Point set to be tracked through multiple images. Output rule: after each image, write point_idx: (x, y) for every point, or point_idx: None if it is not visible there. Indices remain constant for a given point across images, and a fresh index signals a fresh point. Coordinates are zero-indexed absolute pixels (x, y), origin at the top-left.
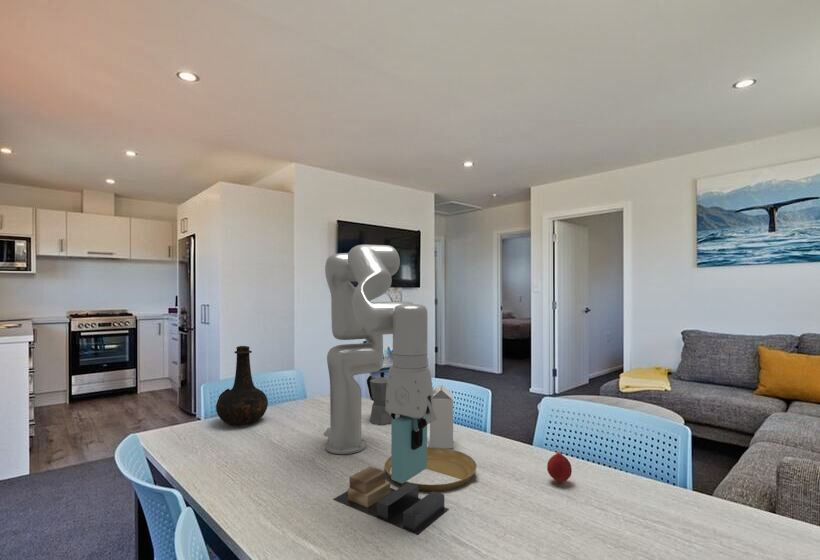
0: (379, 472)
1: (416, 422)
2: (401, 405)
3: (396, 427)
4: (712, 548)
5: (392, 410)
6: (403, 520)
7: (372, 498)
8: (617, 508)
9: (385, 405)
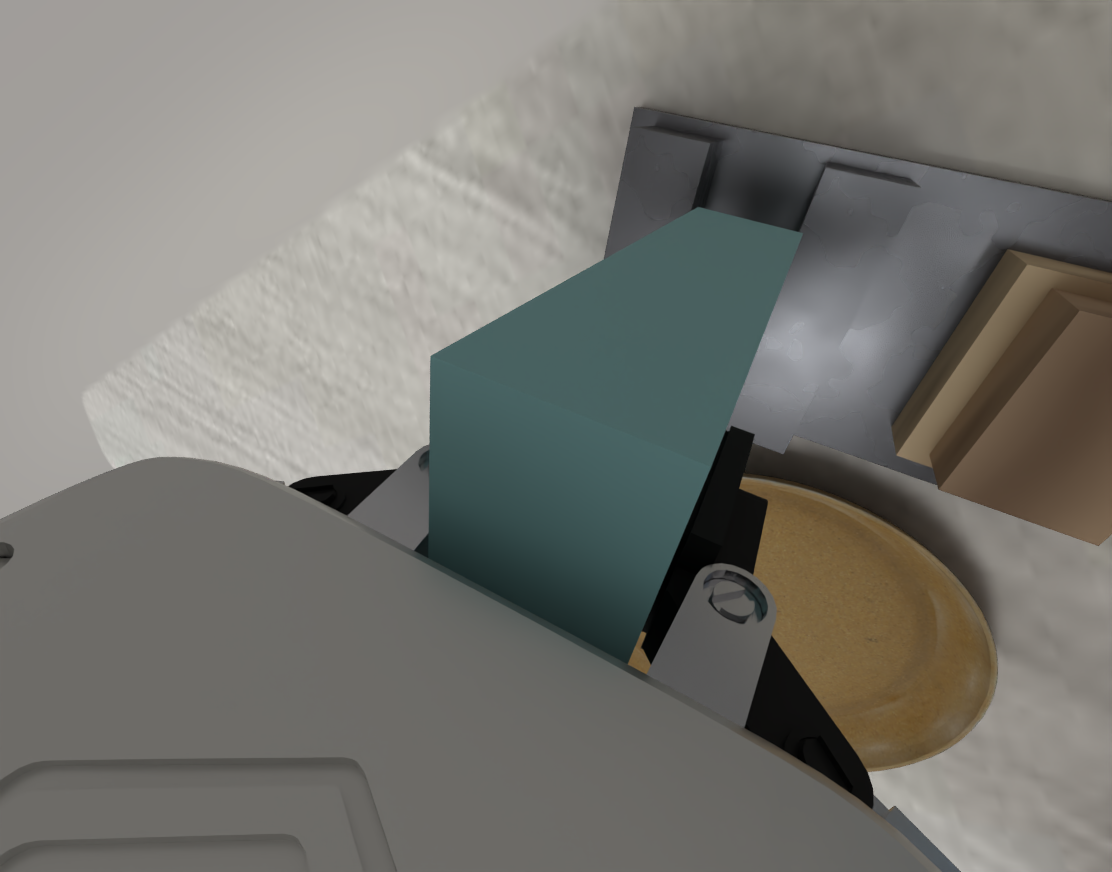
0: (986, 472)
1: (380, 504)
2: (363, 807)
3: (618, 366)
4: (140, 370)
5: (740, 783)
6: (715, 140)
7: (987, 301)
8: (276, 474)
9: None
